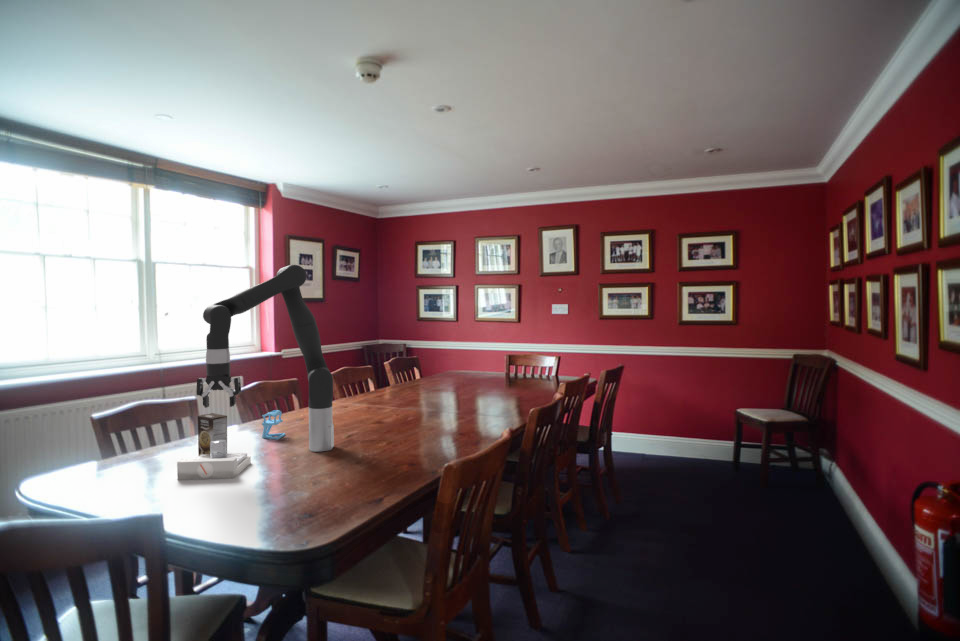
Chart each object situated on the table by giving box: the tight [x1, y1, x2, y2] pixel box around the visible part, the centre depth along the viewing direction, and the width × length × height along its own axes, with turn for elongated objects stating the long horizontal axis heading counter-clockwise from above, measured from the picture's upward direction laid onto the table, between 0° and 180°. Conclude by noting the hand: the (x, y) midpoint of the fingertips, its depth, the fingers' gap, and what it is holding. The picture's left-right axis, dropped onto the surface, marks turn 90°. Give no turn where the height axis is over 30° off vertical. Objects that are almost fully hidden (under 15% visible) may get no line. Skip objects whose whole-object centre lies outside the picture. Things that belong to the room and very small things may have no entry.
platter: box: [194, 452, 248, 465], centre depth 177 cm, size 16×11×1 cm
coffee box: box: [197, 412, 228, 457], centre depth 191 cm, size 9×6×16 cm
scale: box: [176, 455, 252, 481], centre depth 175 cm, size 18×16×6 cm
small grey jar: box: [210, 440, 226, 459], centre depth 177 cm, size 5×5×6 cm
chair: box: [261, 409, 286, 441], centre depth 220 cm, size 8×8×12 cm
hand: (219, 406), depth 177 cm, fingers open, 8 cm apart
